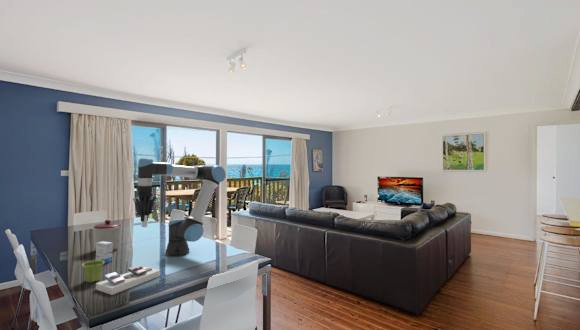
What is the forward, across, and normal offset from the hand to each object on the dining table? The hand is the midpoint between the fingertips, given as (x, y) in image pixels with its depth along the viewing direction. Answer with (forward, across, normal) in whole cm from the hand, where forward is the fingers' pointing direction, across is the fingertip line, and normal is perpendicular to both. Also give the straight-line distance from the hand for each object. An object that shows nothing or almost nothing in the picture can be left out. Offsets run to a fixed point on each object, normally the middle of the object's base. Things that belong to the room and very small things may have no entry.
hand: (144, 226), depth 162 cm
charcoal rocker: (+21, -11, -10) cm, 26 cm away
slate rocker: (+21, -23, -10) cm, 33 cm away
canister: (+25, +14, +56) cm, 63 cm away
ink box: (+25, -2, +33) cm, 41 cm away
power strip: (+24, -15, -10) cm, 30 cm away
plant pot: (+25, -22, +9) cm, 34 cm away
